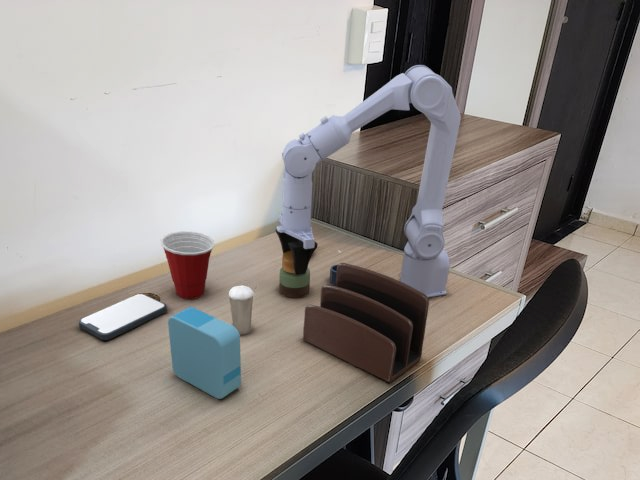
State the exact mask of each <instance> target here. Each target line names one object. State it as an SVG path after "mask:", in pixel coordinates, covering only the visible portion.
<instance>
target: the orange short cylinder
mask: <svg viewBox="0 0 640 480" xmlns="http://www.w3.org/2000/svg"><path fill="white" fill-rule="evenodd" d="M281 268H283V270H285V271H286V272H289V273H295V270H294V262H293V255H292V252H291V251H287V252H285V253H284V254H283V253H282V257H281ZM308 268H309V266H308V267H307V269H308Z"/></svg>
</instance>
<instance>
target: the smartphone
mask: <svg viewBox="0 0 640 480" xmlns="http://www.w3.org/2000/svg"><path fill="white" fill-rule="evenodd" d="M167 311H168V306H167V304H166V303H165V302H162V301H160V300H158V299H155V298H154V297H151V296H149V295H147V294H144V293H137V294H134V295H132V296H130V297H127V298H125V299H122V300H120V301H118V302H116V303H114V304H112V305H109V306H107V307H105V308H102V309H100V310H97V311H95V312H92V313H91V314H87V315H86V316H84V317H82V318H80V319H79V320H78V326H79V328H80V329H82V330H83V331H85V332H87V333H89V334H91V335H92V336H94V337H96V338H98V339H100V340H102V341H109V340H112V339H114V338H115V337H118V336H120V335H122V334H124V333H127V332H128V331H130V330H132V329H134V328H136V327H139V326H141V325H142V324H144V323H146V322H147V323H148V322H149V321H151V320H153V319H155V318H157V317H159V316H161V315H163V314H166V313H167Z"/></svg>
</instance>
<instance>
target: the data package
mask: <svg viewBox="0 0 640 480" xmlns="http://www.w3.org/2000/svg"><path fill="white" fill-rule="evenodd" d="M167 325H168V334H169V335H168V337H169V348H170V356H171V366H172V370H173V373H174V374H175V375H176V377H177V378H179V379H181V380H182V381H184V382H186V383H188V384H189V385H192V386H194V387H195V388H197V389H199V390H201V391H203V392H205V393H206V394H208V395H210V396H212V397H214V398H215V399H217V400H221V399H224V398H225V397H226V396H229V394H231V393H233V392H234V391H235V390H237V389H239V387H241V386H242V364H241V362H242V361H241V359H242V358H241V334H239V332H238V330H237V329H236V328H235V327H234V326H233V324H230V323H228V322H226V321H224V320H221V319H219V318H217V317H214V316H213V315H210V314H209V313H206V312H205V311H202V310H199V309H197V308H195V307H193V306H189V307H186V308H185V309H183V310H181V311H180V312H177V313H175V314H173V315H172V316H170V317H169V318H168V320H167Z"/></svg>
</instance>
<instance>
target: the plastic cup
mask: <svg viewBox="0 0 640 480" xmlns="http://www.w3.org/2000/svg"><path fill="white" fill-rule="evenodd" d="M160 245H161V247H162V249H163V250H164V251H163V252H164V254H165V258H166V261H167V264H168V268H169V271H170V275H171V280H172V282H173V285H174V288H175V293H176V295H177V296H178V297H179V298H181V299H184V300H195V299H199V298H201V297H203V295H204V294H205V291H206V283H207V277H208V271H209V263H210V257H211V254H212V251H213V249H214V248H215V246H216V243H215V240H214V239H213V238H212V237H210V235H207V234H204V233H202V232H196V231H184V230H183V231H182V230H181V231H175V232H170V233H167V234H165V235H163V237H162V238H161V239H160Z"/></svg>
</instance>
